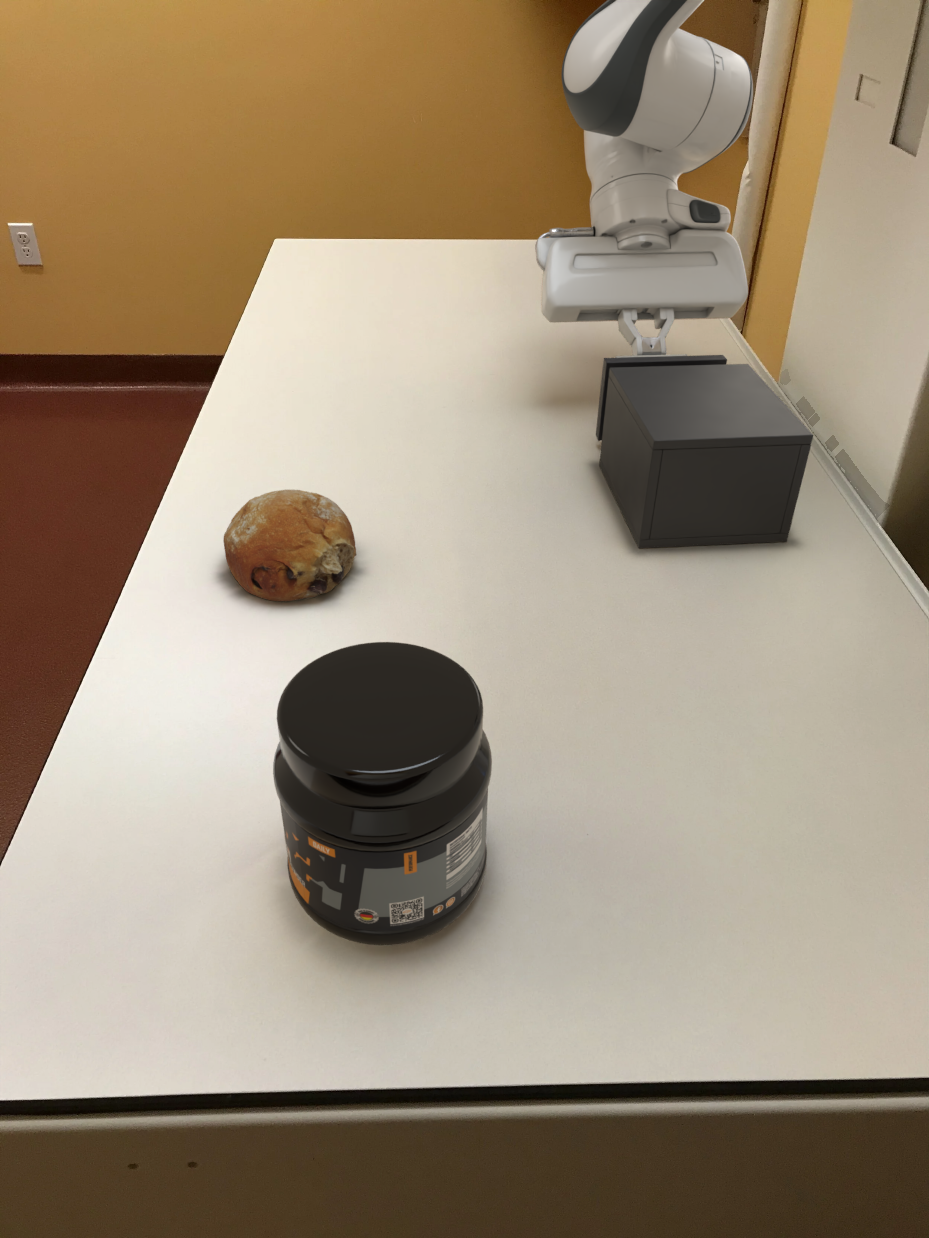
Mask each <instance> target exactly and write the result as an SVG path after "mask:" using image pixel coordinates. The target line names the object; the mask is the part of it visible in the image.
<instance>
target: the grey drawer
mask: <svg viewBox="0 0 929 1238" xmlns="http://www.w3.org/2000/svg"><path fill="white" fill-rule="evenodd" d="M602 362H603V363H602V371H601V379H600V390H599V400H598V408H597V411H598V412H597V418H596V429H595V437H596V439H597V441H598V442H600V441H601V442H602V434H603V425H604V416H605V407H606V397H607V388H608V379H609V370H610V368H614V367H651V366H687V365H724V364H727V363H728V358H727V357H726V356H725V355H724V354H705V355H704V354H703V355H688V354H686V353H680V354H679V353H676V354H675V353H673V354H666V355H634V356H632V355H615V357H604V358H603V361H602Z"/></svg>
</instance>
